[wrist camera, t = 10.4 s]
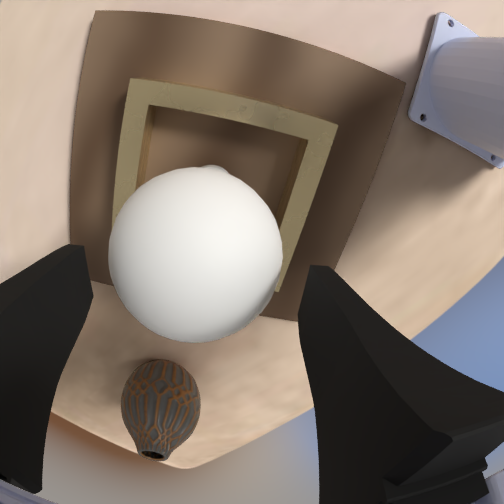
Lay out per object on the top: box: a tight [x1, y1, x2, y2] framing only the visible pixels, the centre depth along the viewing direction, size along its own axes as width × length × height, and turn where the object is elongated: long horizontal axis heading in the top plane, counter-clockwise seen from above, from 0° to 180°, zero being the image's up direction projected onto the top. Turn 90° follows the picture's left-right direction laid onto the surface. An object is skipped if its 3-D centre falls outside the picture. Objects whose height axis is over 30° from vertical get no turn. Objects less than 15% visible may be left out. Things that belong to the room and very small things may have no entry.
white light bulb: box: [108, 165, 283, 343], centre depth 13 cm, size 6×6×11 cm
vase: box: [121, 360, 201, 461], centre depth 24 cm, size 7×7×9 cm
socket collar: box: [112, 77, 338, 292], centre depth 17 cm, size 10×10×2 cm
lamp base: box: [70, 11, 406, 321], centre depth 19 cm, size 18×18×1 cm
